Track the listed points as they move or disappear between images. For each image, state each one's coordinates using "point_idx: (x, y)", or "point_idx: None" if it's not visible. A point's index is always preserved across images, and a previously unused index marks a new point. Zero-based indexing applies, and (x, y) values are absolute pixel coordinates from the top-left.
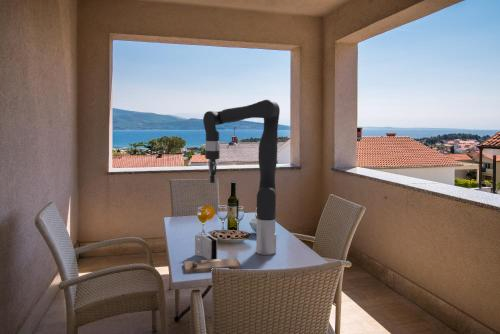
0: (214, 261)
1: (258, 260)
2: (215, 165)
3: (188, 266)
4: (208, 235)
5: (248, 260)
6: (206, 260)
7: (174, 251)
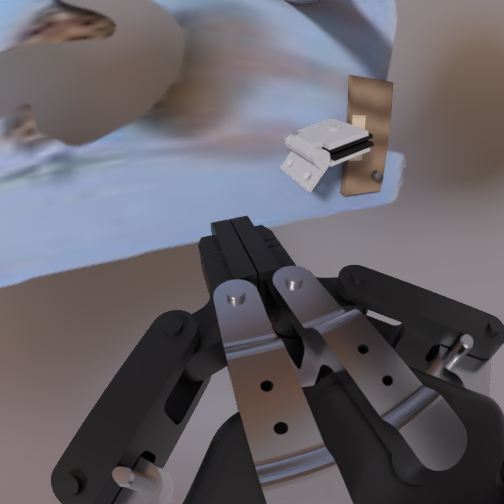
0: None
1: (351, 24)
2: (429, 406)
3: (369, 186)
4: (326, 151)
5: (348, 46)
6: None
7: None
